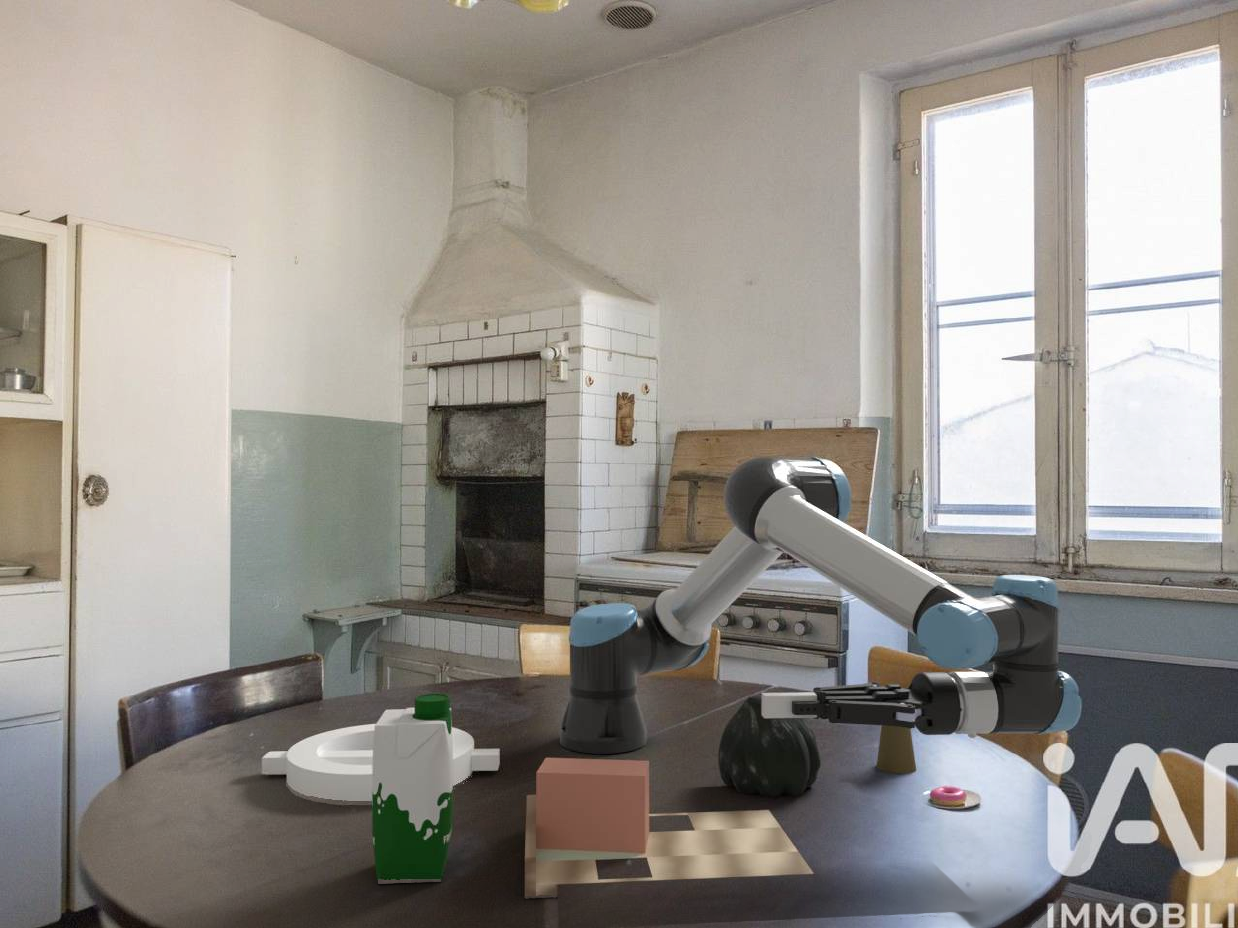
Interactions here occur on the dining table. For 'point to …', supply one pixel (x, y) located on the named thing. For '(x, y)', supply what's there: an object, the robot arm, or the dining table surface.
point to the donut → (953, 797)
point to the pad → (579, 855)
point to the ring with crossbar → (358, 762)
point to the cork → (896, 750)
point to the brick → (592, 805)
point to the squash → (767, 753)
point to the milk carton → (413, 789)
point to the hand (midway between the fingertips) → (763, 705)
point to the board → (682, 852)
